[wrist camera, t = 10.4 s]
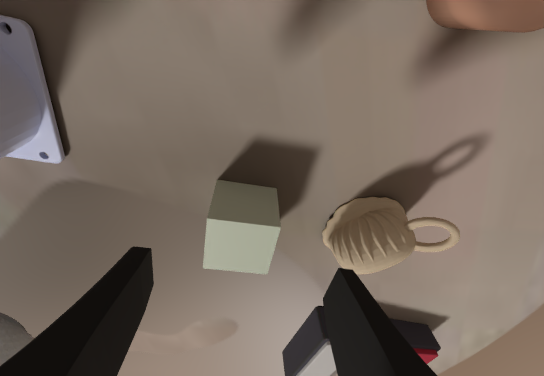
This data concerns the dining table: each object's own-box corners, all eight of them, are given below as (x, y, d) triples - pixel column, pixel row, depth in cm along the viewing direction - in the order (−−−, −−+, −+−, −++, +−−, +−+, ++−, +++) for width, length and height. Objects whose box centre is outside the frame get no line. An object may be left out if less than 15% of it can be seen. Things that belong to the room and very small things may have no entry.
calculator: (391, 394, 34) (285, 392, 30) (377, 358, 38) (280, 352, 34) (447, 355, 29) (327, 346, 25) (425, 317, 32) (316, 304, 28)
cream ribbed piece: (310, 217, 21) (323, 271, 17) (413, 173, 19) (460, 221, 15) (328, 247, 23) (344, 303, 19) (423, 210, 21) (467, 263, 17)
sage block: (212, 224, 21) (202, 268, 17) (217, 179, 19) (207, 218, 15) (265, 230, 22) (267, 274, 18) (276, 187, 19) (280, 227, 16)
